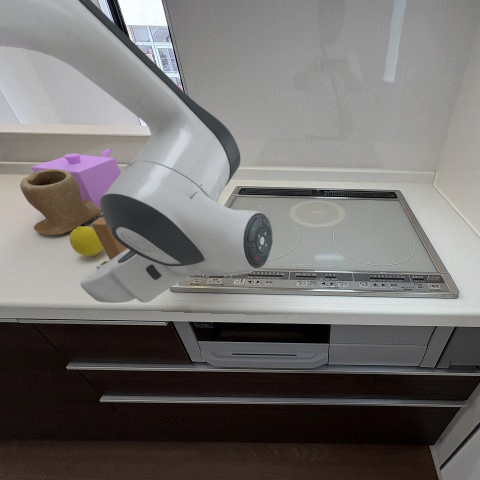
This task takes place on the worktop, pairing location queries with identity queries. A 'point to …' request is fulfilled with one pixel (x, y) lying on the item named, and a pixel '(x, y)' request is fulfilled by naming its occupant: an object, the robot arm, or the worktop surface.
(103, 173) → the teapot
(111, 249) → the sponge wand
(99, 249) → the lemon
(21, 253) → the worktop surface
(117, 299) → the robot arm
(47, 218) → the stone cup
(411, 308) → the worktop surface
